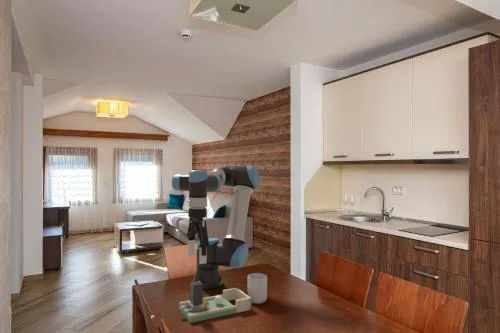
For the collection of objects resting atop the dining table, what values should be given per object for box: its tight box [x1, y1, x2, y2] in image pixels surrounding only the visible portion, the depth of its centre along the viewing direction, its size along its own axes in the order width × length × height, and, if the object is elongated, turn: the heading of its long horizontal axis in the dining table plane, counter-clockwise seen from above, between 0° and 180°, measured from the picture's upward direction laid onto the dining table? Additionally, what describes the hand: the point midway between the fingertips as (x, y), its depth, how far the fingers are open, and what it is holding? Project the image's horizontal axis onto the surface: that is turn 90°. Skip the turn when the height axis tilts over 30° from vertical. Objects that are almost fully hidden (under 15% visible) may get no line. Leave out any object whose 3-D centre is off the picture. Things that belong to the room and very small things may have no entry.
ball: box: [215, 295, 223, 305], centre depth 143 cm, size 4×4×4 cm
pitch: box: [178, 287, 252, 324], centre depth 142 cm, size 14×27×5 cm, turn 118°
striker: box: [178, 281, 210, 312], centre depth 137 cm, size 8×11×10 cm
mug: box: [246, 272, 268, 305], centre depth 154 cm, size 12×9×11 cm
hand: (197, 259), depth 138 cm, fingers open, 13 cm apart
